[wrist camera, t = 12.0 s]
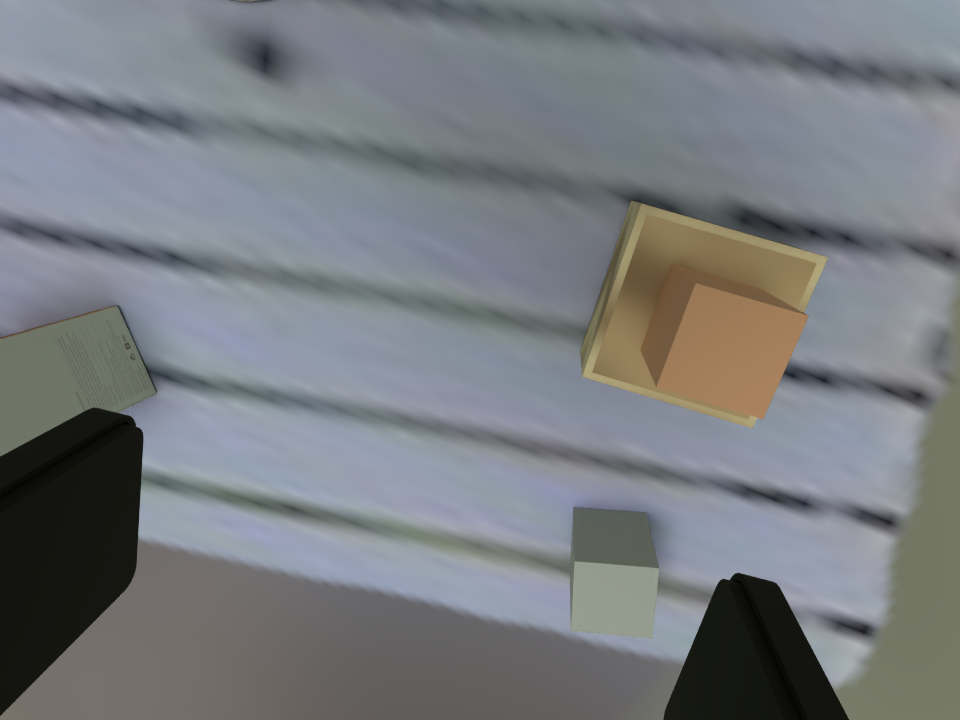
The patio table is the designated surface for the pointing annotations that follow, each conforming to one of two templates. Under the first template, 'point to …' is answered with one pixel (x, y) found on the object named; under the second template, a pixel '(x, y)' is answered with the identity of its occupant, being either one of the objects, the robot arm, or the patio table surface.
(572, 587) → the slate block
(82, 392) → the small box
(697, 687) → the robot arm
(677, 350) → the terracotta block
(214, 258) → the patio table surface
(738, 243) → the tan square tray
